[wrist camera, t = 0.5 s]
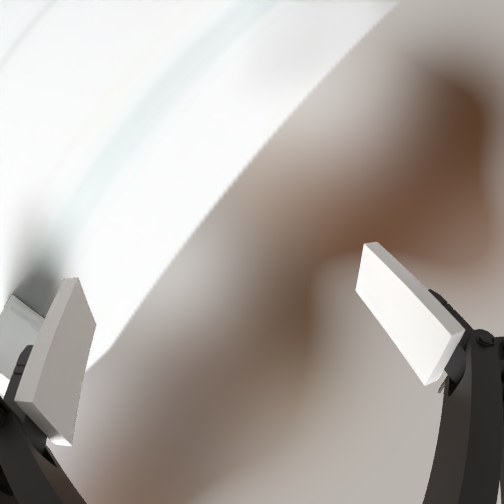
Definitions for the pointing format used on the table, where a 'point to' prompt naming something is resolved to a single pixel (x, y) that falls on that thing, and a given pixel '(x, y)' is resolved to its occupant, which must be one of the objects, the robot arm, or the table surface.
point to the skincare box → (15, 336)
